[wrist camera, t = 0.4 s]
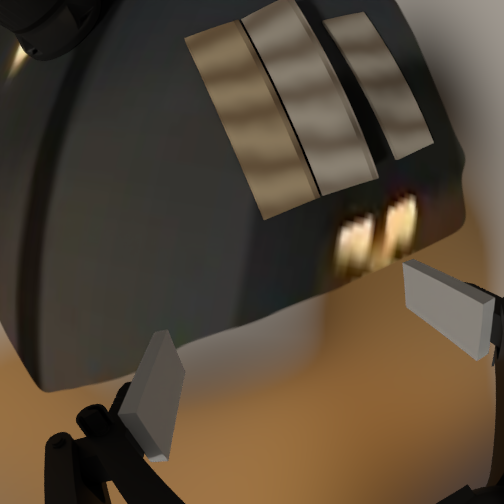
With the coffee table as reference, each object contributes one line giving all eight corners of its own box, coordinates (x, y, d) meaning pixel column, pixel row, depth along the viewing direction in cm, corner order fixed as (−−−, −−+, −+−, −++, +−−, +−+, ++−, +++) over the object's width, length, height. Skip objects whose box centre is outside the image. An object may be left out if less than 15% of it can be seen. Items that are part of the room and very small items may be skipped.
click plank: (244, 21, 34) (240, 19, 33) (292, -3, 30) (290, -6, 29) (324, 193, 40) (322, 195, 39) (378, 176, 36) (378, 177, 35)
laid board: (185, 42, 35) (184, 38, 33) (238, 23, 34) (238, 19, 33) (263, 219, 41) (264, 220, 39) (317, 196, 40) (320, 196, 39)
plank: (321, 23, 36) (323, 20, 34) (361, 15, 35) (363, 12, 34) (394, 160, 41) (398, 159, 40) (429, 143, 40) (433, 142, 39)
